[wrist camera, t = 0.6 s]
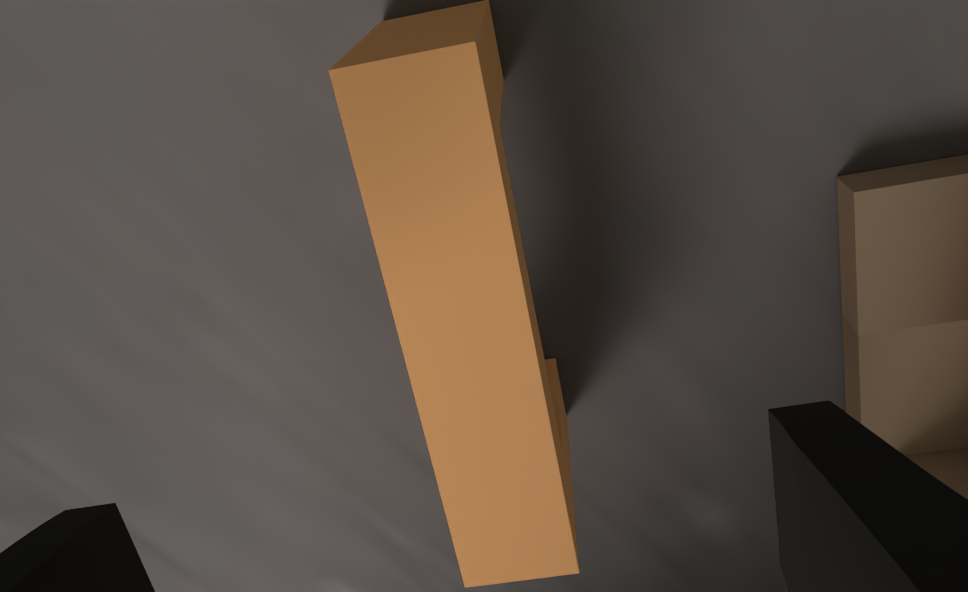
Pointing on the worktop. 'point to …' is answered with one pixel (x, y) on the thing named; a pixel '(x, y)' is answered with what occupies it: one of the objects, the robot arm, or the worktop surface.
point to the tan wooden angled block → (461, 287)
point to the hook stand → (908, 310)
